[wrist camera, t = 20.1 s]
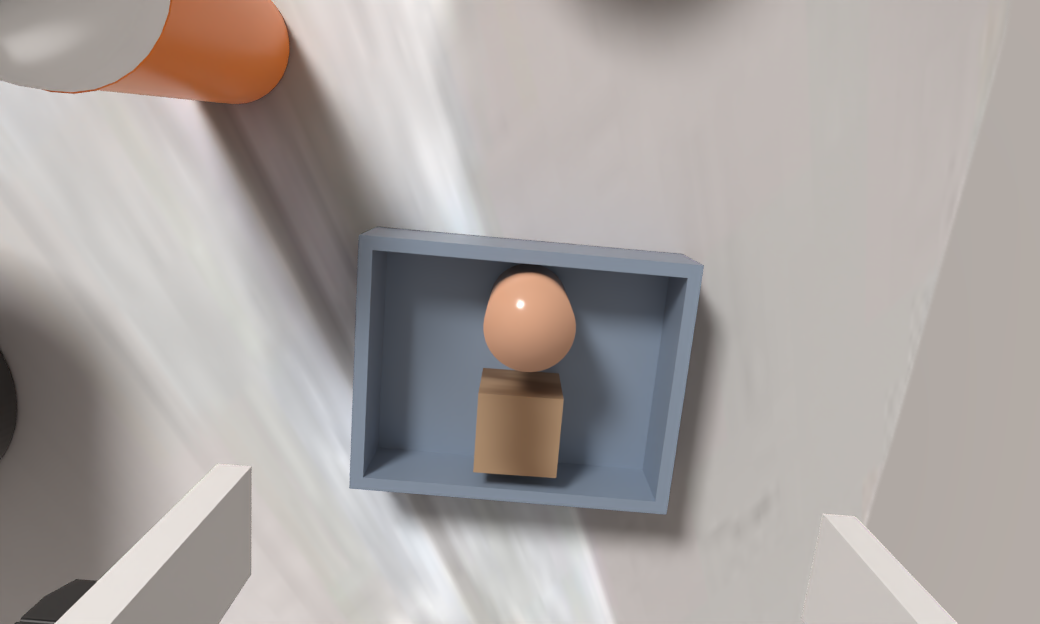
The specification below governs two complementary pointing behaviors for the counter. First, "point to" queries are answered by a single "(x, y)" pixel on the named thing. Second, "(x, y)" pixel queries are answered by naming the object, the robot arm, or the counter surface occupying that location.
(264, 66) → the shaker bottle
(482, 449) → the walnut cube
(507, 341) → the peach capsule pill
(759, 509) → the counter surface
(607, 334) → the tote
